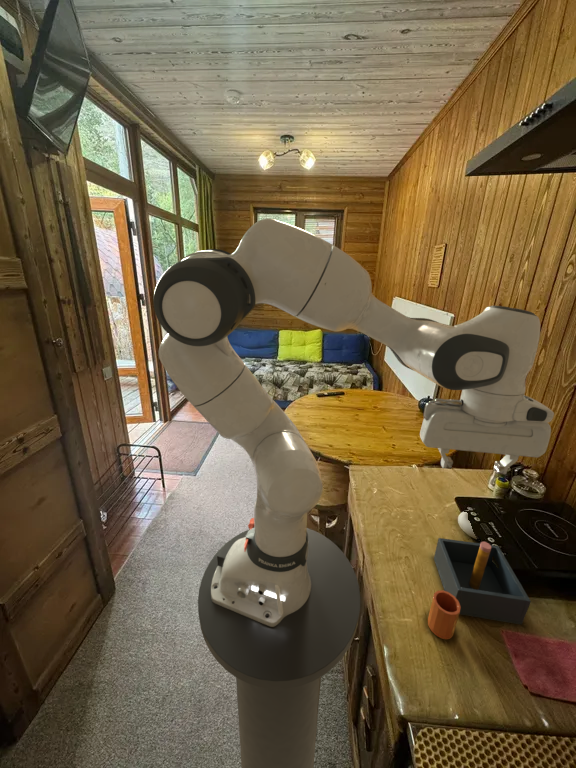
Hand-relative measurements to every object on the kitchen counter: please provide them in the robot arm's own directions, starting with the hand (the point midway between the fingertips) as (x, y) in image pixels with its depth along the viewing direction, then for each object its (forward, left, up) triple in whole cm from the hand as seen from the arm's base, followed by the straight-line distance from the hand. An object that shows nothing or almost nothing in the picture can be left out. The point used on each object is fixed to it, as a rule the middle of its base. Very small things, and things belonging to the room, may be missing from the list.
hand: (472, 469), depth 58 cm
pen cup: (-2, -7, -33) cm, 34 cm away
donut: (+16, +22, -33) cm, 43 cm away
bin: (+8, +3, -33) cm, 34 cm away
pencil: (+8, +3, -32) cm, 33 cm away
